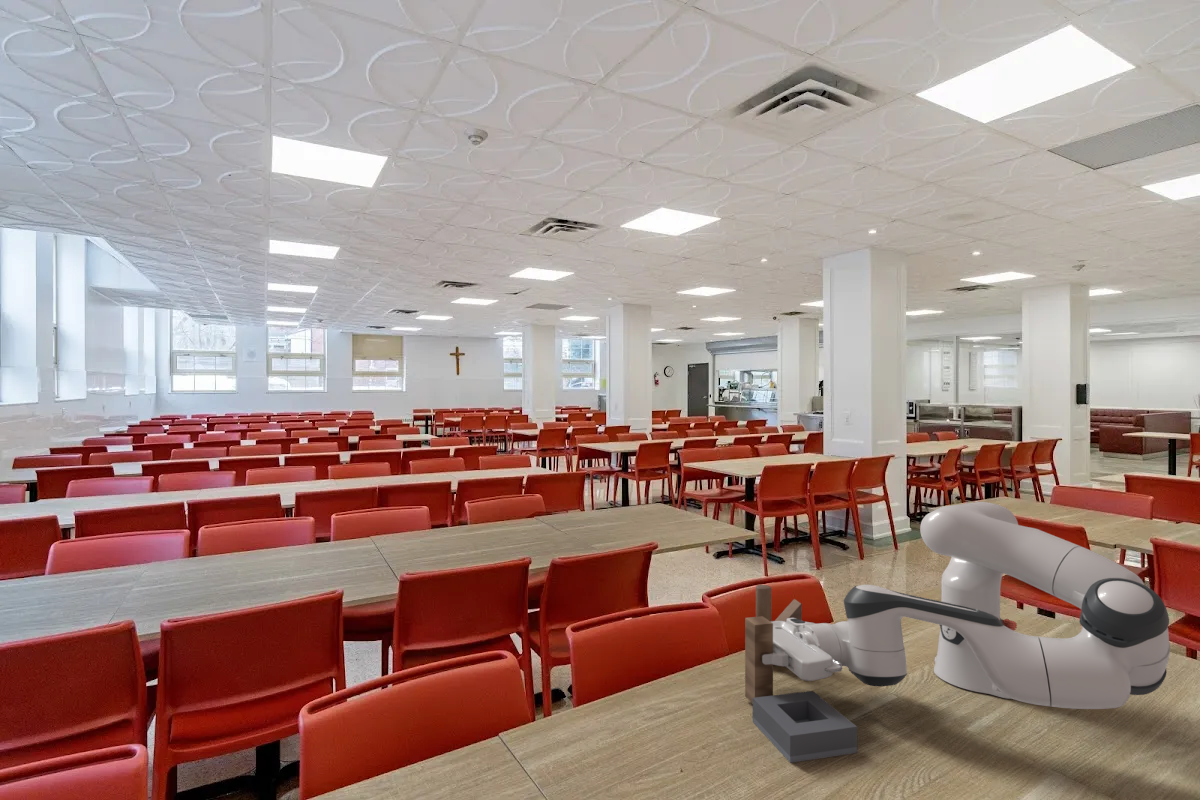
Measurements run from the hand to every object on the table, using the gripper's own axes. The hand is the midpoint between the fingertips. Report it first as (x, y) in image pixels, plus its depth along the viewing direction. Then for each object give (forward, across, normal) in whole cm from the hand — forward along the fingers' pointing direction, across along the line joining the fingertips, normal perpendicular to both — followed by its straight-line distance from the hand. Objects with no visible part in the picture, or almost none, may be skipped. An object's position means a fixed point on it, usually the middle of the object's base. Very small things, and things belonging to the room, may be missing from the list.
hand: (754, 652), depth 114 cm
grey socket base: (-3, -12, -10) cm, 16 cm away
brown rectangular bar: (-1, 0, -10) cm, 10 cm away
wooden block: (-15, +17, -11) cm, 25 cm away
